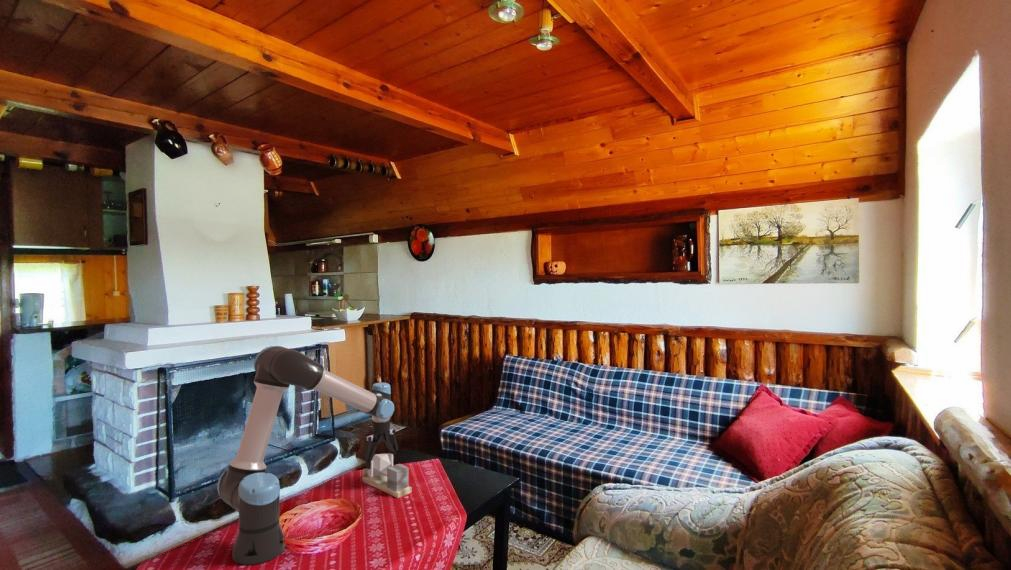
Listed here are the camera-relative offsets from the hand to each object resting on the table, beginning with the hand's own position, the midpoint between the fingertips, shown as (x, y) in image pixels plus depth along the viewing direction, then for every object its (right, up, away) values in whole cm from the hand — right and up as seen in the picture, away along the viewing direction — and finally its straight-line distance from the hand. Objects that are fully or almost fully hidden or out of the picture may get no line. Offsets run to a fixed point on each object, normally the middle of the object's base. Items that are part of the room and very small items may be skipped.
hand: (380, 472), depth 209 cm
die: (0, -1, 0) cm, 1 cm away
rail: (+3, -5, -2) cm, 6 cm away
